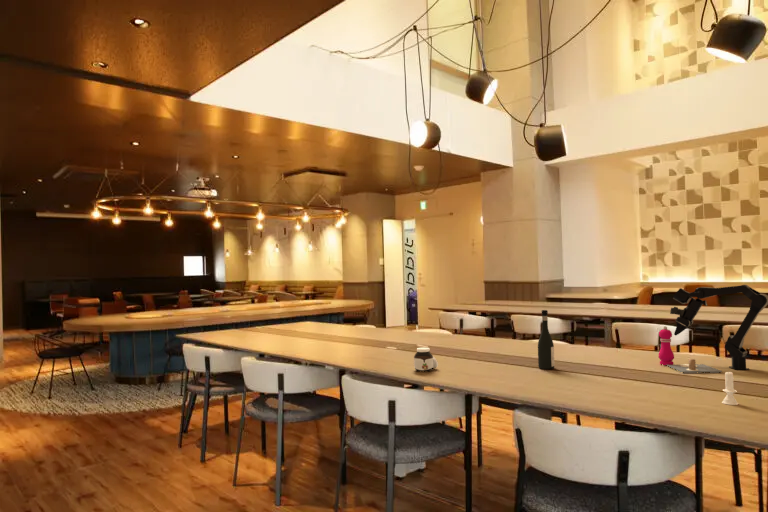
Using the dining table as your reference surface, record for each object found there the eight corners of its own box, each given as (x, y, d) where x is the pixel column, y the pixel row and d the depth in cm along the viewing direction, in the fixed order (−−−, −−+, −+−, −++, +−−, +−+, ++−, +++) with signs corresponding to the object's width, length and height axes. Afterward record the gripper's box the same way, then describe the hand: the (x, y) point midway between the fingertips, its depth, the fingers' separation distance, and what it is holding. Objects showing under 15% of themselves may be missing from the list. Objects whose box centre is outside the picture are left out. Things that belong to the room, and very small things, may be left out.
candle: (732, 401, 203) (730, 369, 203) (742, 404, 197) (740, 372, 198) (718, 401, 202) (717, 370, 203) (728, 405, 197) (726, 372, 197)
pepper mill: (677, 366, 271) (675, 326, 272) (663, 366, 271) (661, 327, 272) (670, 363, 278) (668, 325, 279) (656, 363, 279) (654, 325, 279)
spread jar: (413, 372, 275) (412, 349, 275) (416, 367, 286) (416, 346, 286) (436, 372, 272) (435, 349, 272) (439, 368, 283) (438, 346, 283)
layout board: (722, 373, 252) (721, 360, 252) (682, 373, 254) (682, 360, 254) (703, 366, 269) (702, 354, 269) (666, 366, 270) (666, 354, 271)
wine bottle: (552, 366, 278) (550, 309, 279) (556, 369, 270) (554, 310, 271) (537, 366, 279) (535, 309, 280) (539, 369, 271) (538, 310, 272)
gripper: (679, 300, 287) (663, 325, 291) (674, 301, 272) (658, 327, 275) (700, 311, 281) (684, 336, 285) (696, 312, 266) (679, 339, 269)
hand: (676, 334), depth 279 cm, fingers open, 9 cm apart
